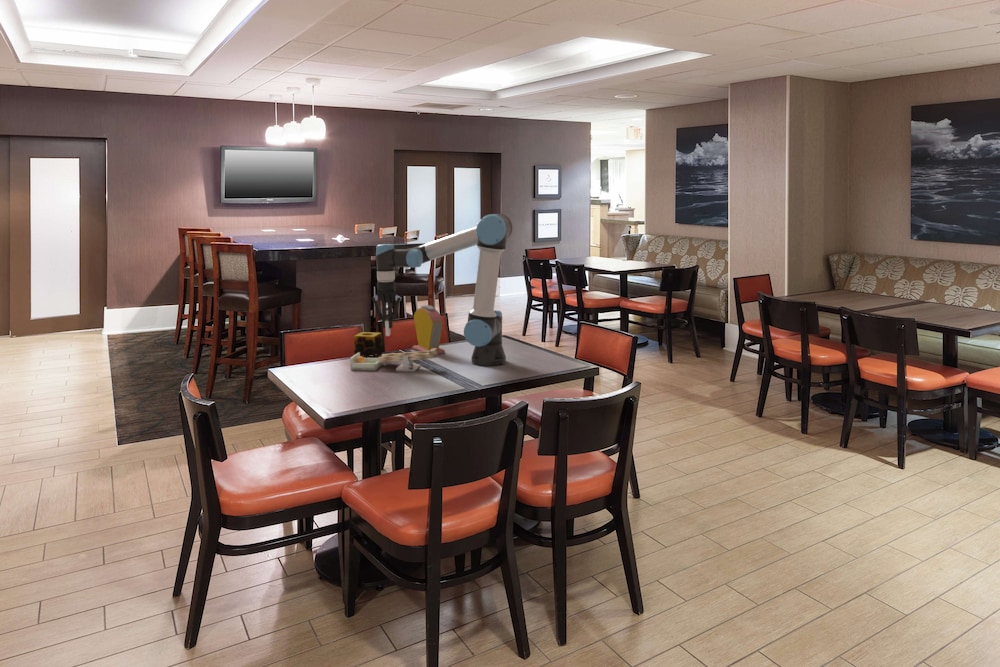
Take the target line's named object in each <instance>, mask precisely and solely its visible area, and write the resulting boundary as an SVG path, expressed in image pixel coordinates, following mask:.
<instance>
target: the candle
mask: <svg viewBox="0 0 1000 667" xmlns="http://www.w3.org/2000/svg"><path fill="white" fill-rule="evenodd" d="M382 337H383V336H382V332H371V331H368V332H367V331H361V332H359V333H357V334H354V336H353V338H354V339H353V340H354V351H353V352H354V354H353V355H355V354H357V353H360V356H362V357H364V358H365V357H367V358H378V357H379V356H382V354H383V350H384V349H383V343H382V342H383V340H382ZM375 354H377V355H375ZM363 355H364V356H363ZM369 355H373V356H369ZM378 355H379V356H378ZM377 356H378V357H377Z"/></svg>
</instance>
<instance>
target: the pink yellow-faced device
mask: <svg viewBox="0 0 1000 667" xmlns="http://www.w3.org/2000/svg"><path fill="white" fill-rule="evenodd" d="M413 321H414V324H415V325H414V326H415V332H416V333H415V334H416V340H417V343H418V344H417V345H416V344H415V345H412V346H411V348H412V350H414V351H415V352H420V351H430V350H431V349H432V348H437V356H438V355H444V354H445V353H446V351H445V349H443V348H440V342H441V335H442V330H443V325H444V319H443V318H442V315H441V314H440V312H439V311H438V310H437V309H436V308H435V307H434V306H433V305H422V306H420V307H419V308H417V309H416V310H415V312H414V314H413Z"/></svg>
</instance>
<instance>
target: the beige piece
mask: <svg viewBox="0 0 1000 667" xmlns="http://www.w3.org/2000/svg"><path fill="white" fill-rule="evenodd" d="M402 356H409V361H410V360H413V361H415V360H428V359H429V360H430V359H435V358H436V357H438V355H437V348H432V349H431V350H430V351H420V352H418V351H407V352H398V353H385V354H384V353H382V354H381V356H378V357H377V358H378V361H379V362H383V363H387V362H401V361H402V362H403V359H402Z"/></svg>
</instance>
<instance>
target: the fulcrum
mask: <svg viewBox="0 0 1000 667" xmlns="http://www.w3.org/2000/svg"><path fill="white" fill-rule="evenodd" d="M402 359H403V361H402V363H400V365H399V366H398V367H396V368H395V371H396V372H413V373H414V372H416V371H417V370H418V369H419V368H420V367H421V363H420V364H419V363H414V360H410V361H409V356H402Z"/></svg>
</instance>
